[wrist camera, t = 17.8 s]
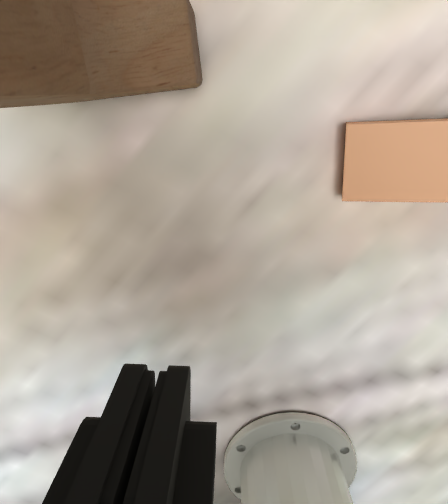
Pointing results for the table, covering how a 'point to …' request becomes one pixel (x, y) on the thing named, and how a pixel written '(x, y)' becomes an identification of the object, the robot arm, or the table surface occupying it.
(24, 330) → the table surface
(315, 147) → the table surface
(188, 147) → the table surface
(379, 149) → the domino
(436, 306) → the table surface
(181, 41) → the wooden block
